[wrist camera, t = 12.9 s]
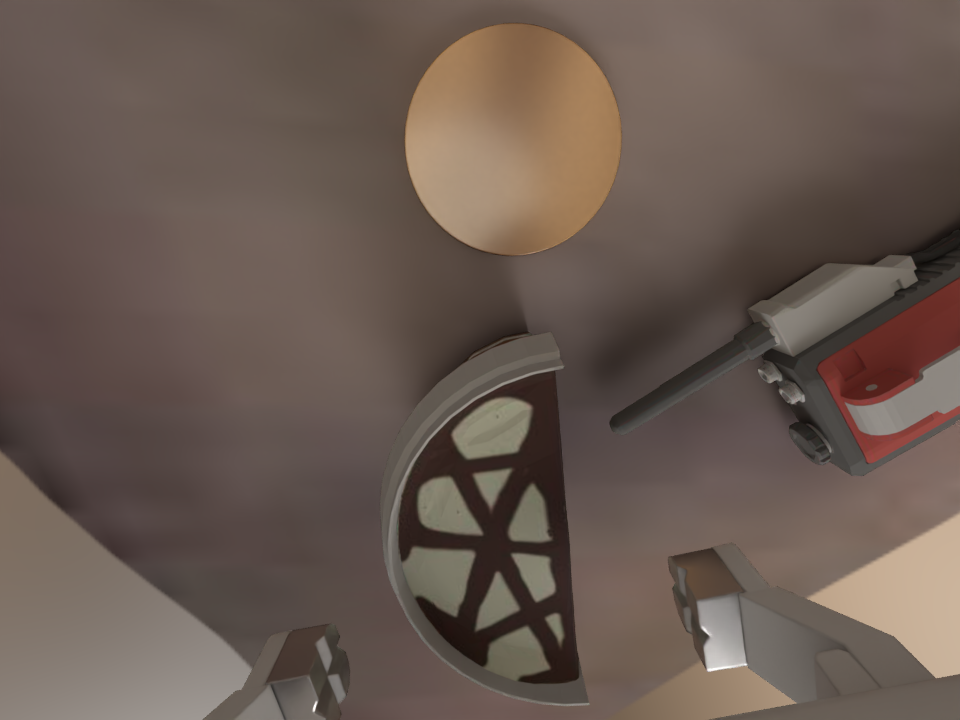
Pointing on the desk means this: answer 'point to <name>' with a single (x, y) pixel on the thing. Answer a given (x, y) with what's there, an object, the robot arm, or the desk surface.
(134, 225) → the desk surface
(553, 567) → the food container
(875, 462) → the walkie-talkie
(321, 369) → the desk surface
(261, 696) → the robot arm
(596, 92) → the cork coaster
